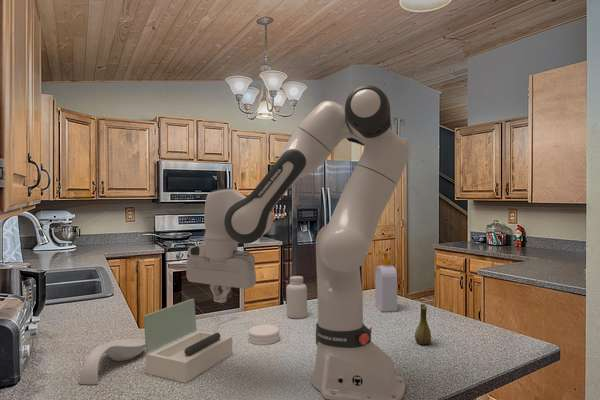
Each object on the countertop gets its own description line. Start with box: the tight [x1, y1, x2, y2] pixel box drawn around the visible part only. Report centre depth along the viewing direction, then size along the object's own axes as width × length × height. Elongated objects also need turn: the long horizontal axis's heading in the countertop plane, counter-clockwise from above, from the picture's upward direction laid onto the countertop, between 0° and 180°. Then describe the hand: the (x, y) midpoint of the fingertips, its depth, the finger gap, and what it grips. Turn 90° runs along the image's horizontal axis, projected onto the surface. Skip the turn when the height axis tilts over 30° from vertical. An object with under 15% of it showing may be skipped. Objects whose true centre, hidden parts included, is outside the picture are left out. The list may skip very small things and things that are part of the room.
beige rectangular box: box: [145, 330, 233, 384], centre depth 108 cm, size 13×20×5 cm, turn 155°
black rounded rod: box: [184, 332, 221, 355], centre depth 106 cm, size 2×14×2 cm, turn 155°
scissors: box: [203, 314, 239, 334], centre depth 142 cm, size 11×1×20 cm
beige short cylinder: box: [247, 324, 281, 346], centre depth 126 cm, size 10×10×4 cm
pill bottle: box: [285, 275, 308, 320], centre depth 151 cm, size 8×8×15 cm
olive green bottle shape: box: [414, 303, 432, 345], centre depth 122 cm, size 6×5×12 cm
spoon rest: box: [78, 338, 146, 386], centre depth 107 cm, size 24×12×7 cm, turn 177°
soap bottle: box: [374, 252, 398, 313], centre depth 160 cm, size 9×7×23 cm
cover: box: [143, 298, 197, 353], centre depth 111 cm, size 10×19×1 cm
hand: (220, 301), depth 104 cm, fingers closed
